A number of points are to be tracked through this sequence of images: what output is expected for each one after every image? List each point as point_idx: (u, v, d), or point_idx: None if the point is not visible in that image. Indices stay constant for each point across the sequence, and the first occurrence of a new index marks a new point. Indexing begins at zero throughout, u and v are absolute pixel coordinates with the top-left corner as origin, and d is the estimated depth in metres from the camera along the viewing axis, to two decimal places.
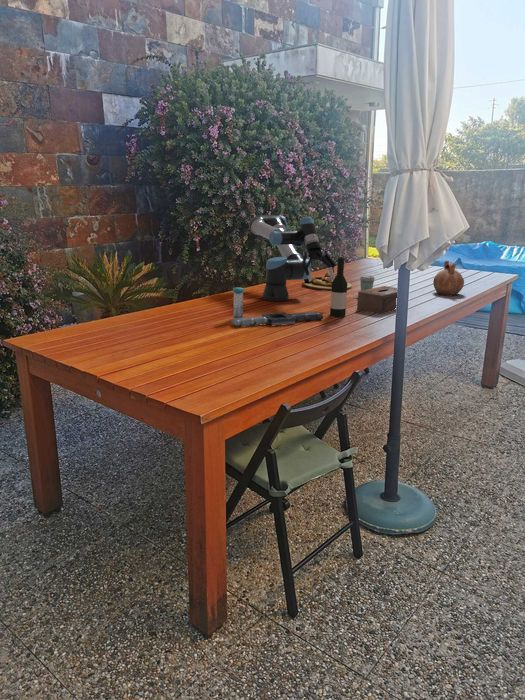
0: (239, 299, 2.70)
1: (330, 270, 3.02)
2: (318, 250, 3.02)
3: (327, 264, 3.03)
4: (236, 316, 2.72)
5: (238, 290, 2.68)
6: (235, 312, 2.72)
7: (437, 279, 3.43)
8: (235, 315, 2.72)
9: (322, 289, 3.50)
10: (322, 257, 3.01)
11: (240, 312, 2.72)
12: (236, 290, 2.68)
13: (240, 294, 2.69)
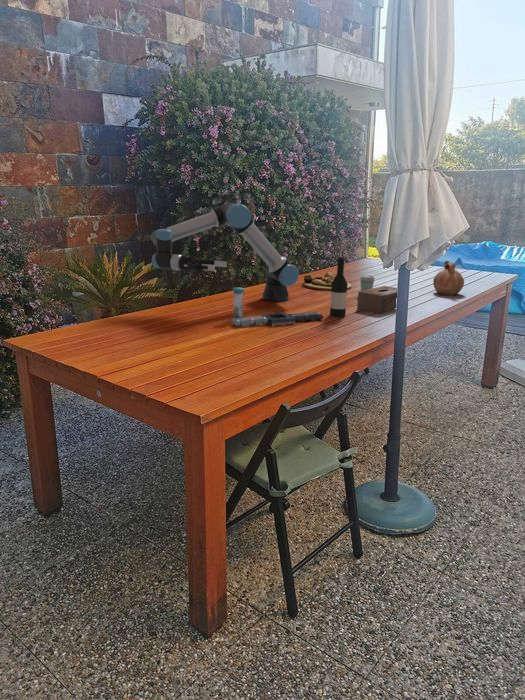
0: (239, 299, 2.70)
1: None
2: None
3: None
4: (236, 316, 2.72)
5: (238, 290, 2.68)
6: (235, 312, 2.72)
7: (437, 279, 3.43)
8: (235, 315, 2.72)
9: (322, 289, 3.50)
10: None
11: (240, 312, 2.72)
12: (236, 290, 2.68)
13: (240, 294, 2.69)
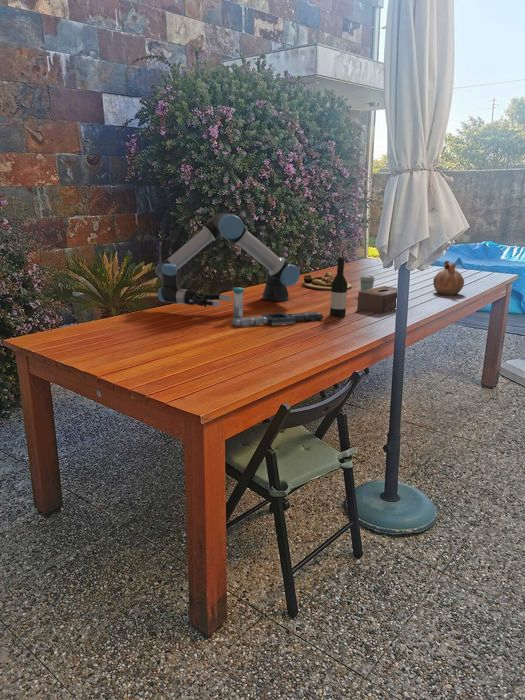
0: (239, 299, 2.70)
1: None
2: None
3: None
4: (236, 316, 2.72)
5: (238, 290, 2.68)
6: (235, 312, 2.72)
7: (437, 279, 3.43)
8: (235, 315, 2.72)
9: (322, 289, 3.50)
10: None
11: (240, 312, 2.72)
12: (236, 290, 2.68)
13: (240, 294, 2.69)
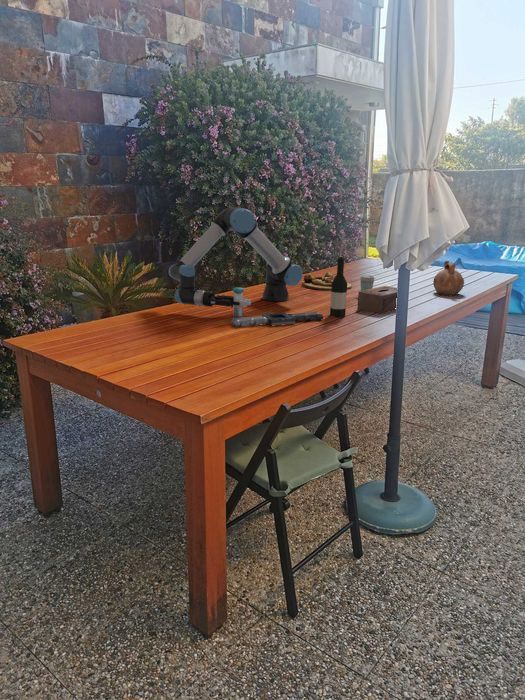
0: (239, 299, 2.70)
1: None
2: None
3: None
4: (236, 316, 2.72)
5: (238, 290, 2.68)
6: (235, 312, 2.72)
7: (437, 279, 3.43)
8: (235, 315, 2.72)
9: (322, 289, 3.50)
10: None
11: (240, 312, 2.72)
12: (236, 290, 2.68)
13: (240, 294, 2.69)
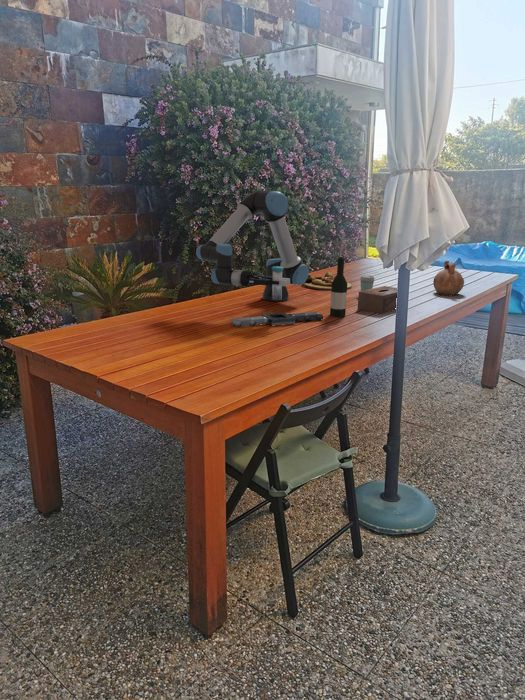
0: (278, 278, 2.62)
1: None
2: (248, 282, 2.68)
3: None
4: (275, 296, 2.65)
5: (278, 269, 2.60)
6: (274, 292, 2.64)
7: (437, 279, 3.43)
8: (274, 295, 2.65)
9: (322, 289, 3.50)
10: None
11: (279, 292, 2.64)
12: (276, 269, 2.60)
13: (280, 273, 2.62)
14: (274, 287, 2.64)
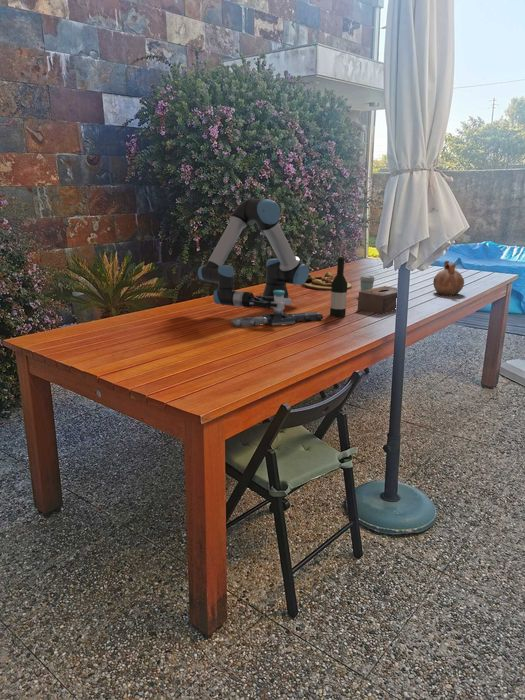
0: (279, 301, 2.65)
1: None
2: None
3: None
4: None
5: (279, 293, 2.64)
6: (275, 315, 2.68)
7: (437, 279, 3.43)
8: None
9: (321, 289, 3.50)
10: None
11: (280, 315, 2.68)
12: (277, 293, 2.64)
13: (281, 297, 2.65)
14: (275, 311, 2.67)
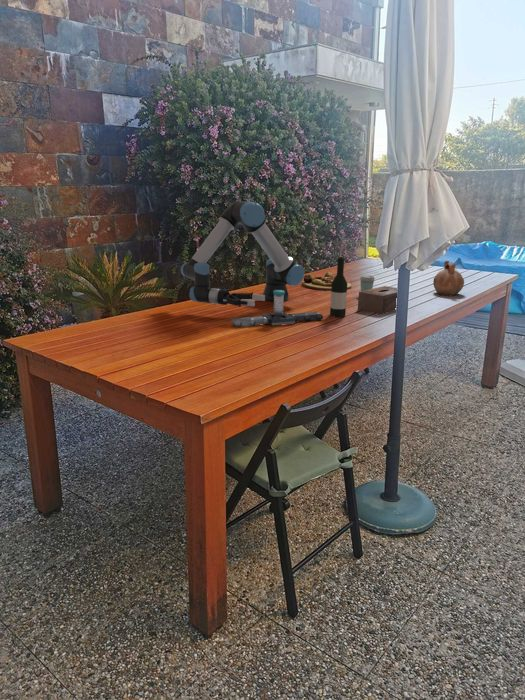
0: (279, 301, 2.65)
1: None
2: None
3: None
4: None
5: (279, 293, 2.64)
6: (275, 315, 2.68)
7: (437, 279, 3.43)
8: None
9: (321, 289, 3.51)
10: None
11: (280, 315, 2.68)
12: (277, 293, 2.64)
13: (281, 297, 2.65)
14: (275, 311, 2.67)
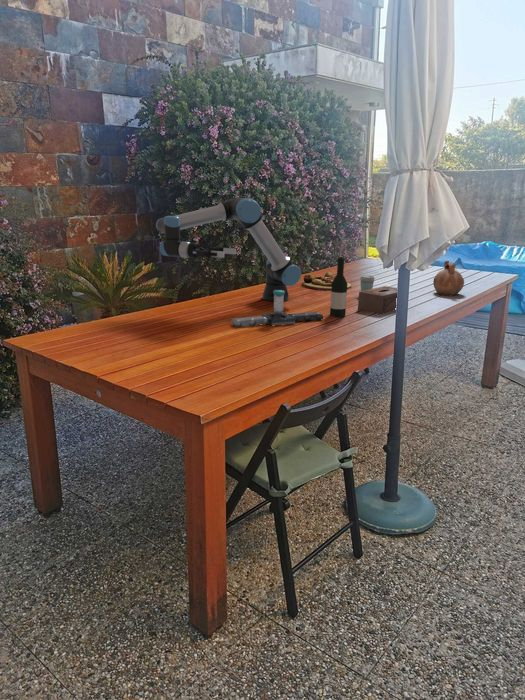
0: (279, 301, 2.65)
1: None
2: None
3: None
4: None
5: (279, 293, 2.64)
6: (275, 315, 2.68)
7: (437, 279, 3.43)
8: None
9: (321, 289, 3.51)
10: None
11: (280, 315, 2.68)
12: (277, 293, 2.64)
13: (281, 297, 2.65)
14: (275, 311, 2.67)
